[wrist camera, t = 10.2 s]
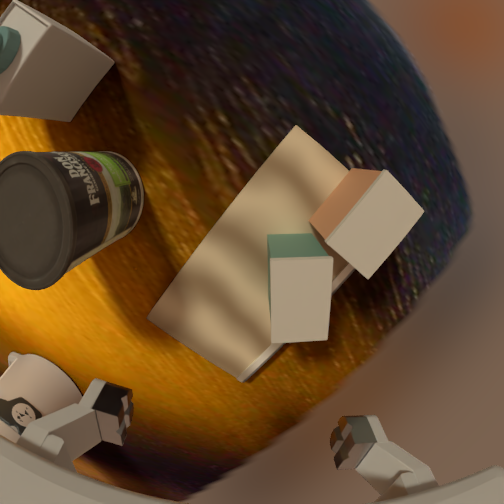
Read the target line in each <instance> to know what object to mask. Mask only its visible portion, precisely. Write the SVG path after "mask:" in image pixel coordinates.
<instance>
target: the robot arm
mask: <svg viewBox="0 0 504 504" xmlns="http://www.w3.org/2000/svg"><path fill="white" fill-rule="evenodd" d="M8 361H9V368H8V369H7V370H6V371H5V372H4V374H3V375H2V376H1V377H0V504H188V503H182V502H177V501H171V500H166V499H162V498H157V497H153V496H149V495H145V494H141V493H137V492H133V491H130V490H126V489H123V488H119V487H116V486H113V485H110V484H107V483H104V482H101V481H98V480H95V479H92V478H89V477H87V476H84V475H82V474H79V473H77V472H76V469H75V467H74V465H73V463H72V461H73V460H74V459H76V458H77V457H79V456H80V455H82V454H83V453H85V452H86V451H88V450H89V449H91V448H92V447H94V446H95V445H97V444H98V443H100V442H101V441H102V440H104V441H107V442H110V443H114V444H117V445H121V446H122V445H123V443H124V440H125V437H126V435H127V431H126V427H128V426H130V424H131V421H132V417H133V409H134V407H133V403H132V402H131V399H132V397H133V393H132V389H129V388H126V387H123V386H119V385H116V384H113V383H110V382H106V381H103V380H100V379H97V378H95V379H94V380H93V381H92V382H91V384H90V386H89V387H88V389H87V391H86V392H85V394H84V396H83V397H82V395H81V393H80V391H79V390H78V388H77V387H76V385H75V384H74V383H73V382H72V380H71V379H70V378H69V377H68V376H67V375H66V374H65V373H64V372H63V371H62V370H61V369H59V368H58V367H57V366H56V365H54V364H53V363H51V362H50V361H48V360H46V359H45V358H43V357H40V356H37V355H34V354H26V355H20V354H18V353H15V352H11V353H10V354H9V356H8ZM338 425H339V426H338V427H336V428H335V429H334V430H333V432H332V434H331V438H330V445H331V449H332V450H333V451H334V452H335V453H336V455H335V457H334V461H335V464H336V468H337V470H341V469H355V470H356V471H357V472H358V473H359V474H360V475H361V476H362V477H363V478H364V479H365V480H366V481H367V482H368V483H369V484H370V485H371V486H372V487H373V488H374V489H375V490H376V491H377V492H378V493H379V494H380V495H381V496H380V497H379V498H378V499H377V500H376V501H375V502H374V503H367V504H504V468H502V467H500V466H497V465H494V466H491V467H488V468H486V469H483V470H481V471H479V472H476V473H474V474H471V475H469V476H466V477H464V478H461V479H458V480H456V481H453V482H450V483H447V484H444V485H441V486H439V485H438V483H437V482H436V479H435V477H434V475H433V473H432V472H431V469H430V467H429V466H427V465H426V464H424V463H422V462H421V461H420V460H418V459H416V458H415V457H414V456H412V455H411V454H409V453H408V452H406V451H405V450H403V449H402V448H401V447H399V446H398V445H396V444H395V443H393V442H392V441H388V439H387V437H386V435H385V432H384V430H383V428H382V426H381V424H380V422H379V420H378V418H377V416H376V415H365V416H342V417H341V418H340V419H339V421H338Z"/></svg>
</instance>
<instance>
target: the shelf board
mask: <svg viewBox="0 0 504 504" xmlns="http://www.w3.org/2000/svg"><path fill="white" fill-rule="evenodd" d="M348 172H349V170H347V169H346V168H345V167H344V166H343V165H342V164H341V163H340V162H339V161H338V160H336V159H335V158H334V157H333V156H332V155H331V154H330V153H329V152H327V151H326V150H325V149H324V148H323V147H322V146H321V145H319V144H318V143H317V142H316V141H315V140H313V139H312V138H311V137H310V136H309V135H308V134H306V133H305V132H304V131H303V130H301V129H300V128H299V127H298V126H297V125H296V126H295V127H294V128H293V129H292V130H291V131H290V132H289V134H288V135H287V136H286V137H285V138H284V139H283V141H282V142H281V143H280V144H279V145H278V147H277V148H276V149H275V150H274V151H273V153H272V154H271V155H270V156H269V157H268V159H267V160H266V161H265V162H264V164H263V165H262V166H261V167H260V168H259V170H258V171H257V172H256V173H255V175H254V176H253V177H252V178H251V180H250V181H249V182H248V183H247V184H246V186H245V187H244V188H243V189H242V191H241V192H240V193H239V194H238V196H237V197H236V198H235V200H234V201H233V202H232V203H231V205H230V206H229V207H228V208H227V210H226V211H225V212H224V214H223V215H222V216H221V217H220V219H219V220H218V221H217V223H216V224H215V225H214V226H213V228H212V229H211V230H210V232H209V233H208V234H207V236H206V237H205V238H204V239H203V241H202V242H201V243H200V245H199V246H198V247H197V249H196V250H195V251H194V253H193V254H192V255H191V257H190V258H189V259H188V261H187V262H186V263H185V265H184V266H183V267H182V269H181V270H180V271H179V273H178V274H177V276H176V277H175V278H174V280H173V281H172V282H171V284H170V285H169V286H168V288H167V289H166V291H165V292H164V293H163V295H162V296H161V298H160V299H159V300H158V302H157V303H156V304H155V306H154V307H153V309H152V310H151V311H150V313H149V315H148V316H147V318H146V319H148V320H149V321H151V322H152V323H153V324H155V325H156V326H158V327H159V328H160V329H162V330H163V331H165V332H166V333H168V334H169V335H170V336H172V337H173V338H175V339H176V340H178V341H179V342H181V343H182V344H184V345H185V346H187V347H188V348H190V349H191V350H193V351H194V352H196V353H197V354H199V355H201V356H202V357H204V358H205V359H207V360H208V361H210V362H212V363H213V364H215V365H216V366H218V367H220V368H221V369H223V370H225V371H226V372H228V373H230V374H231V375H233V376H235V377H236V378H237V380H239V381H240V382H245V381H246V380H247V379H248V378H249V377H250V376H252V375H253V374H254V373H255V372H256V371H257V370H258V369H259V368H260V367H261V366H262V365H263V364H264V363H265V362H267V361H268V360H269V359H270V358H271V357H272V356H273V355H274V354H275V353H276V352H277V351H278V350H279V349H280V348H281V347H282V346H283V345H284V344H285V343H271V320H270V310H269V300H268V253H267V234H302V233H312V234H313V236H314V237H315V238H316V240H317V241H318V242H319V243H320V245H321V246H322V247H323V249H324V250H325V251H326V253H327V254H328V255H329V256H332V257H333V275H332V291H331V296H332V295H333V294H334V293H335V291H336V290H337V289H338V288H339V287H340V286H341V285H342V284H343V283H344V282H345V280H346V279H347V278H348V277H349V276H350V275H351V274H352V273H353V272H354V270H355V268H354V267H353V266H352V265H351V264H350V263H349V262H348V261H346V260H345V259H344V258H343V257H342V256H341V255H339V254H338V253H337V252H336V251H335V250H334V249H333V248H331V247H330V246H329V245H328V244H327V243H326V242H325V239H324V238H323V236H322V235H321V234H320V233H319V232H318V231H317V230H316V229H315V227H314V226H313V225H312V224H311V223H310V222H309V221H308V220H309V219H310V218H311V217H312V216H313V214H314V213H315V212H316V211H317V210H318V208H319V207H320V206H321V205H322V204H323V202H324V201H325V200H326V199H327V198H328V196H329V195H330V194H331V193H332V192H333V190H334V189H335V188H336V187H337V186H338V184H339V183H340V182H341V181H342V180H343V178H344V177H345V176H346V175H347V174H348Z"/></svg>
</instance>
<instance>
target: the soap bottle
mask: <svg viewBox="0 0 504 504" xmlns="http://www.w3.org/2000/svg"><path fill="white" fill-rule="evenodd" d="M113 64H114V61H113V60H112V59H111V58H109V57H108V56H107V55H105V54H104V53H103V52H101V51H100V50H98V49H97V48H96V47H94V46H93V45H92V44H90V43H89V42H87V41H86V40H85V39H83V38H82V37H80V36H79V35H78V34H76V33H75V32H73V31H71V30H70V29H68V28H66V27H65V26H63V25H61V24H59V23H58V22H56V21H54V20H53V19H51V18H49V17H47V16H45V15H44V14H42V13H40V12H38V11H36V10H35V9H33V8H31V7H29V6H27V5H25V4H23V3H21V2H19V1H18V0H13V1H12V2H11V4H10V5H9V6H8V8H7V9H6V10H5V12H4V13H3V14H2V16H1V17H0V115H9V116H21V117H31V118H40V119H49V120H57V121H64V122H70V121H71V120H72V119H73V117H74V116H75V114H76V113H77V111H78V110H79V109H80V107H81V106H82V104H83V103H84V101H85V100H86V99H87V97H88V96H89V95H90V93H91V92H92V91H93V89H94V88H95V87H96V85H97V84H98V83H99V82H100V80H101V79H102V78H103V77H104V75H105V74H106V73H107V72H108V70H109V69H110V68H111V67H112V66H113Z"/></svg>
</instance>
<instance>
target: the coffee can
mask: <svg viewBox="0 0 504 504" xmlns="http://www.w3.org/2000/svg"><path fill="white" fill-rule="evenodd" d="M143 203H144V191H143V185H142V182H141V178H140V176H139V174H138V172H137V170H136V169H135V167H134V166H133V165H132V163H131V162H130V161H129V160H128V159H126V158H125V157H123V156H122V155H120V154H118V153H115V152H110V151H99V152H87V151H86V152H31V151H20V152H15V153H12V154H10V155H8V156H7V157H5V158H4V159H3V160H2V161H1V162H0V269H1V270H2V272H3V273H4V274H5V275H6V276H7V277H8V278H9V279H10V280H12V281H13V282H14V283H16V284H17V285H19V286H21V287H23V288H26V289H31V290H41V289H45V288H48V287H50V286H52V285H53V284H55V283H56V282H57V281H58V280H59V279H60V278H61V277H62V276H63V275H64V274H65V273H67V272H68V271H70V270H71V269H73V268H74V267H76V266H77V265H79V264H81V263H82V262H83V261H85V260H86V259H88V258H89V257H91V256H92V255H94V254H96V253H97V252H99V251H100V250H102V249H103V248H105V247H107V246H108V245H110V244H112V243H113V242H115V241H116V240H118V239H121V238H122V237H124V236H125V235H127V234H128V233H129V232H130V231H131V230H132V229H133V228H134V227H135V225H136V224H137V222H138V220H139V218H140V215H141V213H142V209H143Z"/></svg>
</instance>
